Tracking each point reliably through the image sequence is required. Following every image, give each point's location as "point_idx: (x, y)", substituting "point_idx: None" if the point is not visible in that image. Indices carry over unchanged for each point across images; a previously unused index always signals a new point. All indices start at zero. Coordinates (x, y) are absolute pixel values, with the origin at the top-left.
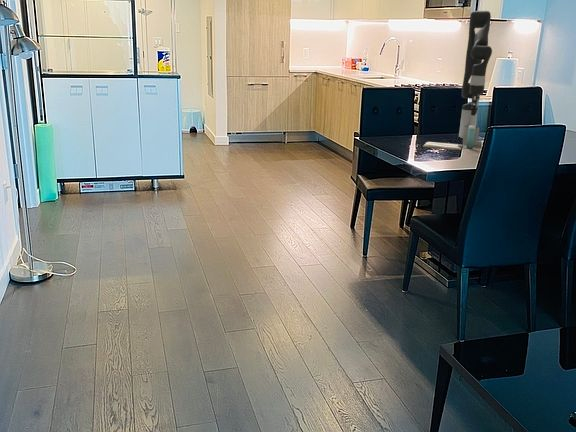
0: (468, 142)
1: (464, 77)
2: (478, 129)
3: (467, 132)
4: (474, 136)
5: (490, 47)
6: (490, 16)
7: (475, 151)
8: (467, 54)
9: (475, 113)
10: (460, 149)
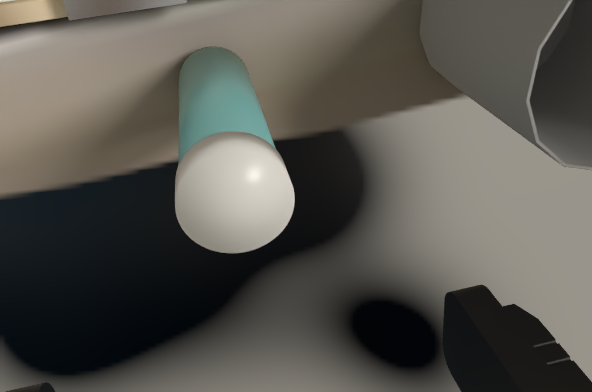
0: (180, 90)
1: None
2: (560, 157)
3: (502, 14)
4: (474, 96)
5: None
6: None
7: (59, 177)
8: None
9: (448, 353)
10: (2, 24)
